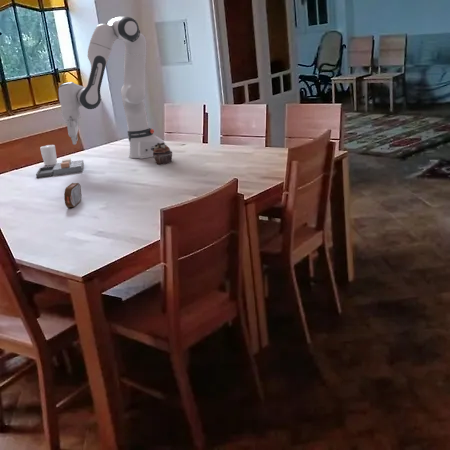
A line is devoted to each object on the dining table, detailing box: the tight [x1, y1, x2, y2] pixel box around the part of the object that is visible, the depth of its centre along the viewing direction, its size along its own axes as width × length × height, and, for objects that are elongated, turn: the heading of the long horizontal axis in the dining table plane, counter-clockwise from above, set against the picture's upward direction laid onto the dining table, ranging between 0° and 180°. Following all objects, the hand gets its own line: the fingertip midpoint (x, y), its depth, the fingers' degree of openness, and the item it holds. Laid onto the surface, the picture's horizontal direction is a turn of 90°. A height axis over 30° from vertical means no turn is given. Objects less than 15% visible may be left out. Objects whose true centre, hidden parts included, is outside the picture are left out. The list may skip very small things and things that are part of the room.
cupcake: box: [153, 143, 173, 166], centre depth 320 cm, size 10×10×10 cm
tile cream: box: [61, 158, 72, 164], centre depth 332 cm, size 4×4×2 cm
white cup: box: [39, 144, 58, 167], centre depth 350 cm, size 8×8×10 cm
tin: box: [63, 182, 83, 209], centre depth 260 cm, size 15×3×8 cm, turn 175°
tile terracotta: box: [60, 161, 70, 168], centre depth 324 cm, size 4×4×2 cm
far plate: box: [53, 159, 85, 177], centre depth 329 cm, size 14×16×3 cm
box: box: [35, 165, 55, 179], centre depth 328 cm, size 8×16×2 cm, turn 9°
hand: (75, 142), depth 326 cm, fingers open, 8 cm apart
